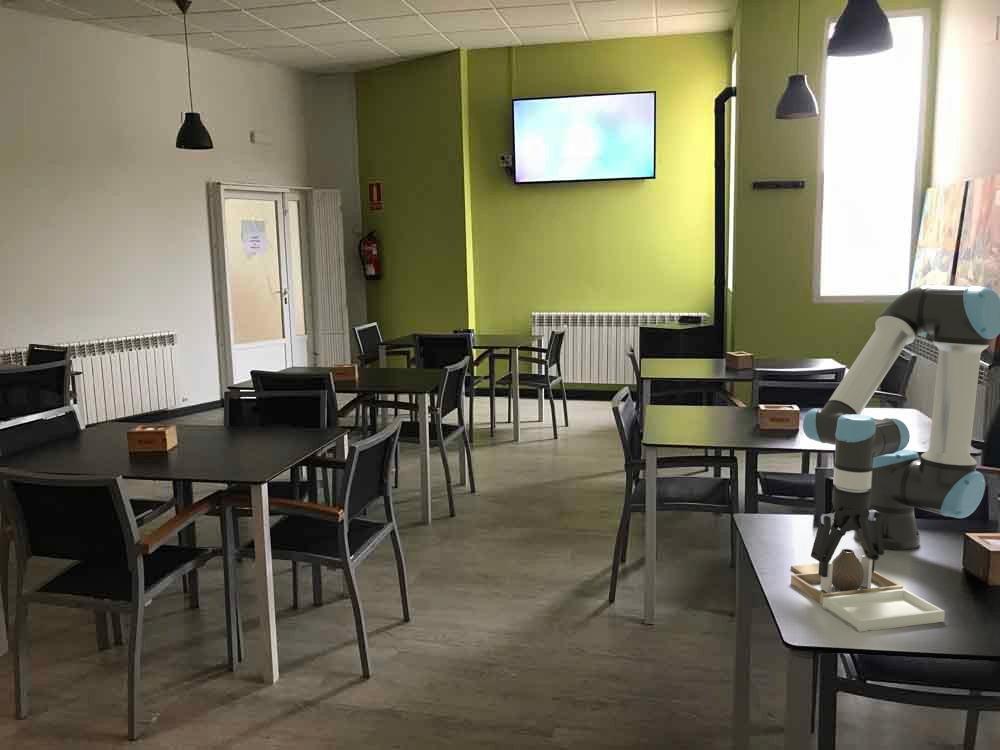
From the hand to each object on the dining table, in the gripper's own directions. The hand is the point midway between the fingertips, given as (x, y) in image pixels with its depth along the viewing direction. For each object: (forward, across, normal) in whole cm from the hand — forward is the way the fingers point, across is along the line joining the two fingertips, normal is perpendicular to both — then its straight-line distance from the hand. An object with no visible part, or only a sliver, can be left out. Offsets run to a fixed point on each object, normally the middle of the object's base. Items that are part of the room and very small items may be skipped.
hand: (845, 588), depth 181 cm
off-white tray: (0, +1, +13) cm, 13 cm away
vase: (0, 0, 0) cm, 0 cm away
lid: (0, -2, -10) cm, 10 cm away
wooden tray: (0, 0, 0) cm, 0 cm away
